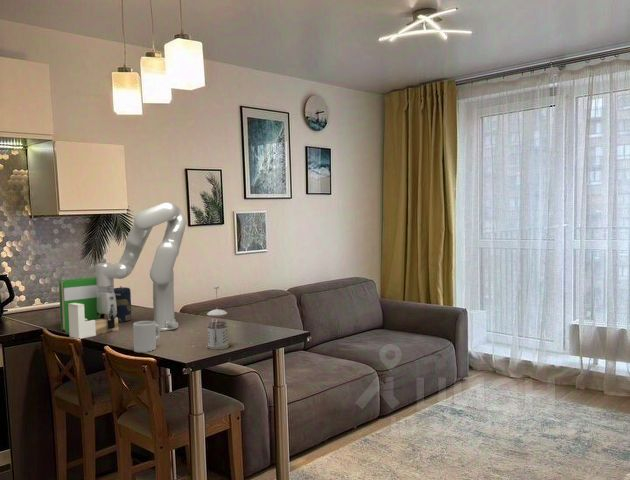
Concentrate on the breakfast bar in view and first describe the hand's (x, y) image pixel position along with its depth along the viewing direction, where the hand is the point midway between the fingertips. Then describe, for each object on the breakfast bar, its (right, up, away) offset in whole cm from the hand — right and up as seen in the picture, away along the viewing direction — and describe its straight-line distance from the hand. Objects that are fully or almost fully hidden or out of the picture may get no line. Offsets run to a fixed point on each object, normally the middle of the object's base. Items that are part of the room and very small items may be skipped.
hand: (106, 327), depth 254 cm
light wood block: (-2, -2, -3) cm, 4 cm away
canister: (-2, -1, +25) cm, 26 cm away
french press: (+58, -3, -36) cm, 68 cm away
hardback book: (-15, -2, +7) cm, 16 cm away
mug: (+31, -3, -36) cm, 47 cm away
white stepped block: (-8, -3, -10) cm, 13 cm away
